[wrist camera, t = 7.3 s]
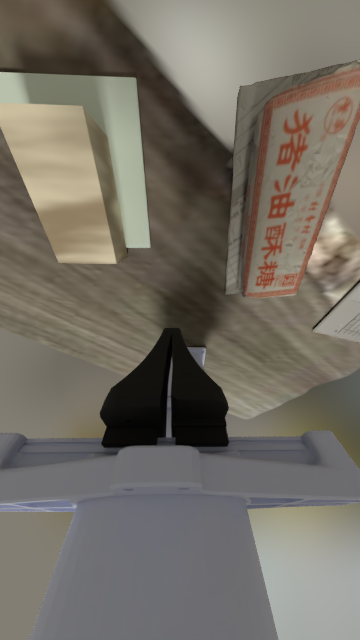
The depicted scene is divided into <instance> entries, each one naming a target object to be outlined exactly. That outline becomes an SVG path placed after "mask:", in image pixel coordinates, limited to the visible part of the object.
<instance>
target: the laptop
mask: <svg viewBox="0 0 360 640" xmlns="http://www.w3.org/2000/svg"><path fill="white" fill-rule="evenodd" d="M313 332H317V333H321V334H326V335H330V336H334V337H338V338H342V339H346V340H351V341H355V342H359V343H360V283H359V284H358V285H357V286H356V287H355V288H354V289H353V290H352V291H351V292H350V293H349V294H348V295H347V296H346V297H345V298H344V299H343V300H342V301H341V302H340V303H339V304H338V305H337V306H336V307H335V308H334V309H333V310H332V311H331V312H330V313H329V314H328V315H327V316H326V317H325V318H324V319H323V320H322V321H321V322H320V323H319V324H318V325H317V326H316V327H315V328H314V329H313Z"/></svg>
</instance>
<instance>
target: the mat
mask: <svg viewBox="0 0 360 640" xmlns="http://www.w3.org/2000/svg"><path fill="white" fill-rule="evenodd" d="M0 103H19V104H46V105H74V106H83V107H84V108H85V109H86V111H87V112H88V113H89V114H90V116H91V117H92V118H93V119H94V121H95V122H96V123H97V124H98V126H99V127H100V128H101V129H102V131H103V132H104V133H105V134H106V136H107V138H108V143H109V149H110V155H111V161H112V167H113V173H114V179H115V184H116V190H117V196H118V202H119V208H120V214H121V220H122V225H123V231H124V237H125V243H126V248H151V243H150V231H149V220H148V208H147V196H146V184H145V173H144V161H143V149H142V137H141V126H140V114H139V102H138V90H137V80H136V78H132V77H108V76H83V75H59V74H35V73H10V72H0Z"/></svg>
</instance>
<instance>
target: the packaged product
mask: <svg viewBox="0 0 360 640" xmlns="http://www.w3.org/2000/svg"><path fill="white" fill-rule="evenodd" d="M359 119H360V60H356V61H352V62H349V63H345V64H338V65H334V66H330V67H326V68H322V69H318V70H315V71H311V72H308V73H301V74H295V75H292V76H285V77H279V78H274V79H270V80H266V81H261V82H256V83H254V84H253V85H248V86H240V89H239V93H238V97H237V110H236V125H235V139H234V153H233V184H232V196H231V208H230V222H229V230H228V258H227V267H226V291H225V294H226V295H228V294H239V293H242V295H243V297H246V298H255V299H261V298H267V297H283V296H295V295H296V294H297V291H298V288H299V285H300V283H301V281H302V278H303V275H304V273H305V271H306V267H307V264H308V260H309V258H310V256H311V255H312V251H313V247H314V244H315V242H316V240H317V236H318V234H319V231H320V228H321V226H322V223H323V219H324V215H325V214H326V212H327V210H328V207H329V203H330V200H331V197H332V195H333V192H334V190H335V187H336V184H337V181H338V178H339V175H340V172H341V169H342V167H343V165H344V162H345V159H346V156H347V153H348V150H349V147H350V145H351V142H352V139H353V136H354V133H355V129H356V126H357V123H358V121H359Z"/></svg>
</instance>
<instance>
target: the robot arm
mask: <svg viewBox="0 0 360 640" xmlns="http://www.w3.org/2000/svg"><path fill="white" fill-rule="evenodd" d="M202 351H204V352H202ZM205 354H206V348H205V347H187V346H186V344H185V342H184V340H183V337H182V335H181V331H180V329H179V328H165V329H164V330H163V332H162V334H161V336H160V338H159V340H158V341H157V343H156V345H155V346H154V348H153V349H152V350H151V352H150V353H149V354H148V356H147V357H146V358H145V359H144V360H143V361H142V362H141V363H140V364H139V365H138V366H137V367H136V368H135V369H134V370H133V371H132V372H131V373H130V374H129V375H128V376H126V377H125V378H124V379H123V380H122V381H120V382H119V383H117V384H116V385H115V386H114V387H112V388H111V390H110V392H109V393H108V395H107V397H106V399H105V402H104V404H103V406H102V409H101V411H100V417H101V419H102V420H103V422H104V423H105V425H106V426H107V428H106V431H105V434H104V437H103V438H63V439H62V438H58V439H57V438H56V439H55V438H51V439H27V438H26V437H25V436H24V435H21V434H18V433H0V511H40V512H41V511H42V512H47V511H49V512H74V515H73V518H72V521H71V524H70V526H69V529H68V532H67V535H66V538H65V540H64V543H63V546H62V549H61V552H60V554H59V558H58V560H57V563H56V566H55V569H54V571H53V574H52V577H51V580H50V582H49V585H48V588H47V591H46V594H45V597H44V599H43V602H42V605H41V608H40V610H39V613H38V616H37V619H36V622H35V624H34V627H33V630H32V633H31V635H30V638H29V640H278V636H277V632H276V628H275V624H274V620H273V615H272V611H271V607H270V603H269V599H268V595H267V591H266V586H265V582H264V578H263V574H262V570H261V566H260V561H259V557H258V553H257V549H256V545H255V541H254V537H253V533H252V528H251V524H250V520H249V516H248V512H247V509H254V508H275V507H299V506H324V505H325V506H326V505H347V504H353V503H359V502H360V470H359V469H358V467H357V466H356V464H355V463H354V462H353V460H352V459H351V458H350V456H349V455H348V454H347V452H346V451H345V450H344V448H343V447H342V445H341V444H340V443H339V442H338V440H337V439H336V437H335V436H334V435H333V433H332V432H331V431H308V432H306V433H304V434H303V435H302V436H301V437H300V436H296V437H228V434H227V429H226V421H225V416H226V414H227V411H228V408H229V407H228V403H227V400H226V398H225V395H224V393H223V391H222V389H221V387H220V386H218V385H217V384H216V383H215V382H214V381H213V380H212V379H211V378H210V377H209V376H208V375H207V374H206V373H205V372H204V368H203V366H204V360H205Z"/></svg>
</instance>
